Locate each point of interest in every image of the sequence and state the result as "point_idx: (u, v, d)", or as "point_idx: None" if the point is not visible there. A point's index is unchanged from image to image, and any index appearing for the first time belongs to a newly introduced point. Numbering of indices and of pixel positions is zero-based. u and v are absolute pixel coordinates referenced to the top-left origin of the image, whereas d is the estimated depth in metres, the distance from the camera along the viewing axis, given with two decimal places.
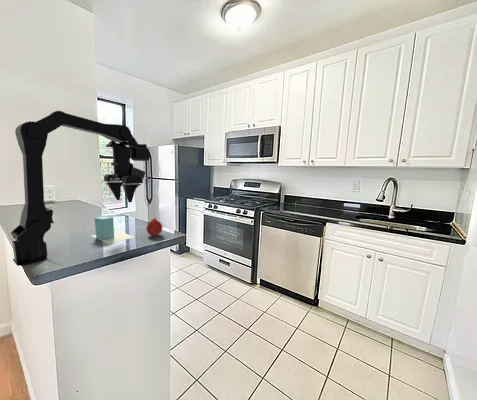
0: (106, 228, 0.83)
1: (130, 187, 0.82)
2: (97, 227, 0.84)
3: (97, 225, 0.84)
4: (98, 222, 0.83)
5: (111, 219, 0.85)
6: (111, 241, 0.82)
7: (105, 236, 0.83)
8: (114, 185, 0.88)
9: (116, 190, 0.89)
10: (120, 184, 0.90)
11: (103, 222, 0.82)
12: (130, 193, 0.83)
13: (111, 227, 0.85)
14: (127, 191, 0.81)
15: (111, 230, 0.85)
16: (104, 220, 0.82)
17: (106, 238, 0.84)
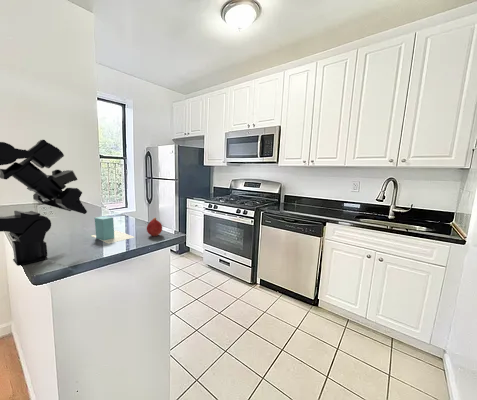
0: (106, 228, 0.83)
1: None
2: (97, 227, 0.84)
3: (97, 225, 0.84)
4: (98, 222, 0.83)
5: (111, 219, 0.85)
6: (111, 241, 0.82)
7: (105, 236, 0.83)
8: (54, 201, 0.74)
9: None
10: None
11: (103, 222, 0.82)
12: (78, 207, 0.71)
13: (111, 227, 0.85)
14: (74, 209, 0.70)
15: (111, 230, 0.85)
16: (104, 220, 0.82)
17: (106, 238, 0.84)
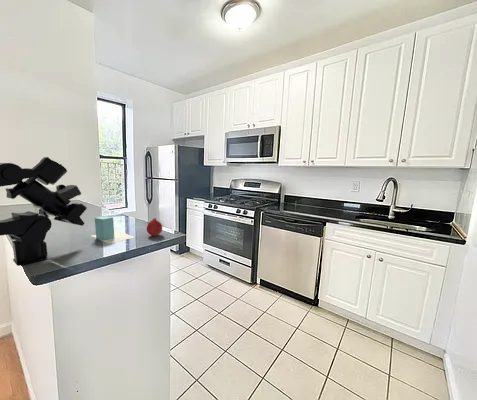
0: (106, 228, 0.83)
1: None
2: (97, 227, 0.84)
3: (97, 225, 0.84)
4: (98, 222, 0.83)
5: (111, 219, 0.85)
6: (111, 241, 0.82)
7: (105, 236, 0.83)
8: None
9: None
10: None
11: (103, 222, 0.82)
12: None
13: (111, 227, 0.85)
14: None
15: (111, 230, 0.85)
16: (104, 220, 0.82)
17: (106, 238, 0.84)
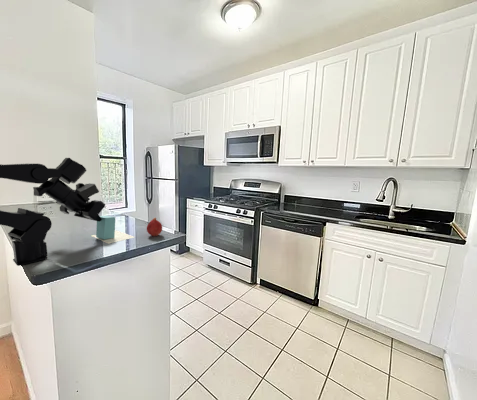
0: (107, 227, 0.84)
1: None
2: (98, 225, 0.84)
3: (99, 224, 0.84)
4: None
5: (113, 218, 0.85)
6: (111, 241, 0.82)
7: (106, 235, 0.83)
8: None
9: None
10: None
11: (105, 221, 0.83)
12: None
13: (112, 227, 0.85)
14: None
15: (112, 230, 0.85)
16: (106, 219, 0.83)
17: (106, 237, 0.84)
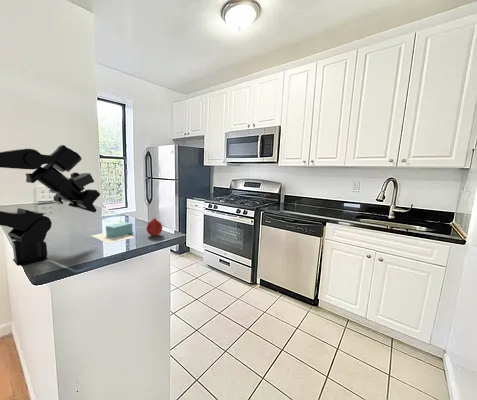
0: (124, 228, 0.90)
1: None
2: (118, 223, 0.91)
3: (120, 223, 0.92)
4: (124, 223, 0.93)
5: (131, 231, 0.93)
6: (111, 241, 0.82)
7: (117, 228, 0.87)
8: None
9: None
10: None
11: (129, 224, 0.92)
12: (89, 206, 0.78)
13: (124, 232, 0.90)
14: (85, 208, 0.77)
15: (121, 233, 0.89)
16: (131, 225, 0.92)
17: (115, 229, 0.86)
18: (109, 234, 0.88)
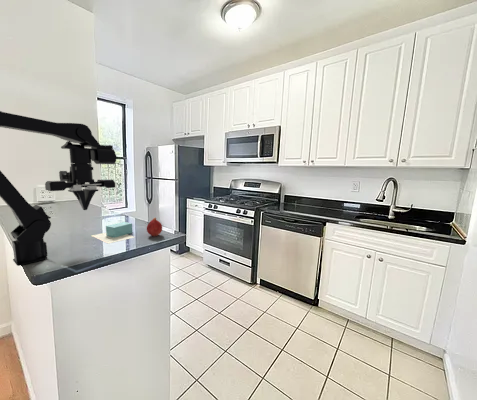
0: (124, 228, 0.90)
1: None
2: (118, 223, 0.91)
3: (120, 223, 0.92)
4: (124, 223, 0.93)
5: (131, 231, 0.93)
6: (111, 241, 0.82)
7: (117, 228, 0.87)
8: None
9: None
10: None
11: (129, 224, 0.92)
12: None
13: (124, 232, 0.90)
14: None
15: (121, 233, 0.89)
16: (131, 225, 0.92)
17: (115, 229, 0.86)
18: (109, 234, 0.88)
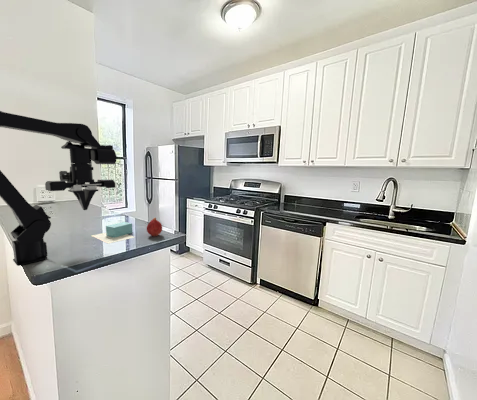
0: (124, 228, 0.90)
1: None
2: (118, 223, 0.91)
3: (120, 223, 0.92)
4: (124, 223, 0.93)
5: (131, 231, 0.93)
6: (111, 241, 0.82)
7: (117, 228, 0.87)
8: None
9: None
10: None
11: (129, 224, 0.92)
12: None
13: (124, 232, 0.90)
14: None
15: (121, 233, 0.89)
16: (131, 225, 0.92)
17: (115, 229, 0.86)
18: (109, 234, 0.88)
